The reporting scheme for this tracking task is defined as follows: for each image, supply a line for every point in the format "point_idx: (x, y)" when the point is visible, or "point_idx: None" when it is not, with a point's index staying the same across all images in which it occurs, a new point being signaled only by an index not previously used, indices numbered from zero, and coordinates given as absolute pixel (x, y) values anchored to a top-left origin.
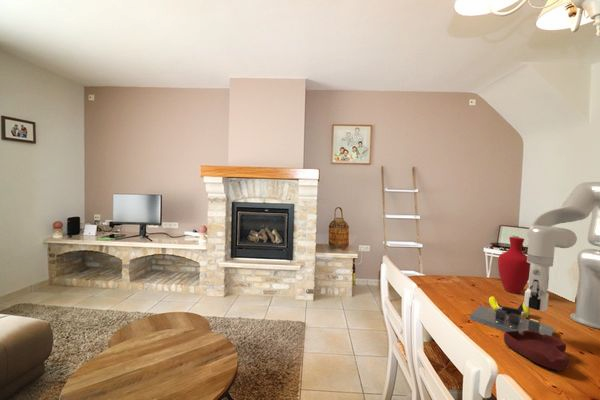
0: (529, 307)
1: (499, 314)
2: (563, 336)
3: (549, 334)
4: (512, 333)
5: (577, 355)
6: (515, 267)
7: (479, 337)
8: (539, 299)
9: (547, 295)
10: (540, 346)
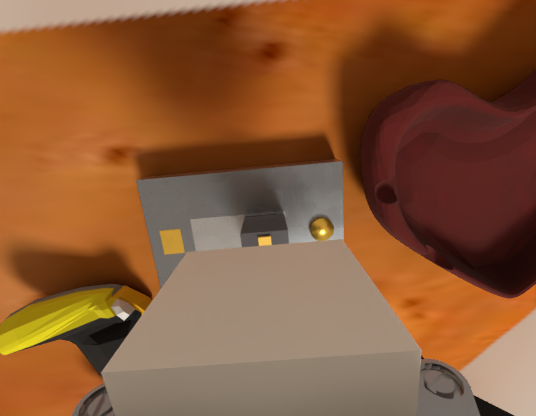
0: None
1: None
2: (151, 138)
3: (257, 176)
4: (477, 276)
5: (322, 58)
6: None
7: (477, 332)
8: (425, 364)
9: (292, 360)
10: (446, 173)
